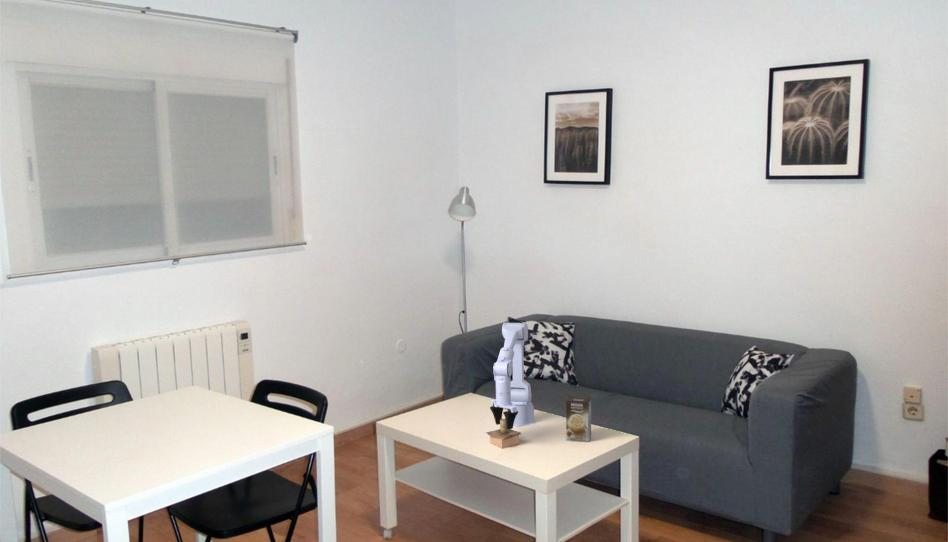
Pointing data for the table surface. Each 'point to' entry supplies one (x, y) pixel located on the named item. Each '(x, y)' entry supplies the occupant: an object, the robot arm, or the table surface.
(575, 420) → the coffee box
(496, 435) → the lid
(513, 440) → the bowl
